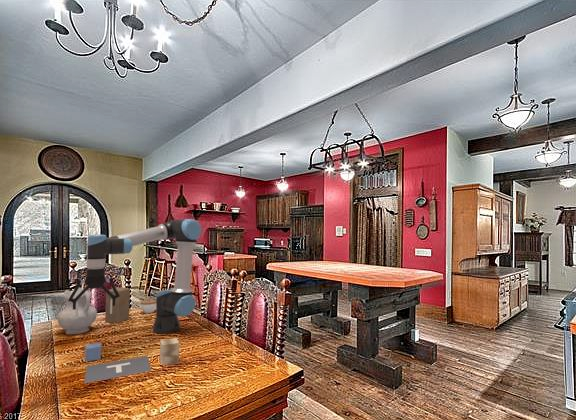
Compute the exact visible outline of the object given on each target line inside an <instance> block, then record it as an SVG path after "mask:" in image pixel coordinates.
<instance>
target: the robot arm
mask: <svg viewBox="0 0 576 420" xmlns="http://www.w3.org/2000/svg"><path fill="white" fill-rule="evenodd" d="M201 235H202V226H201V224H200V223H199V222H198V220H195V219H192V218H191V219H190V218H184V219H182V218H181V219H180V218H179V219H178V218H177V219H174V220H170V221H168V222H164V223H160V224H159V225H157V226H153V227H148V228H145V229H141V230H136V231H131V232H125V233H124V234H123V233H122V234H119V235H115V236H109V237H107V235H106V234H89V235H88V236H87V243H86V271H85V273H86V274H85V279H81V278H80V279H77V282H76V283H77V284H76V286H75V288H74V289H73V290H74V291H73V290H72V291H73V293H72V294H71V296H70V298H69V299H68V301H71V302H73V310H75V309H76V314H75V317H78V301H77V300H78V299H79V298H80V297H81V296H82V295H83V294H84V293H85V292H86V291H87V290H88V291H89V290H93V289H94V290H95V289H97V290H98V289H100V288H101V289H102V290H104V292H105V294H106V293H107V294H108V295H109V296H110V297H111V301H110V314H112V306H115V299H116V298H118V297H119V296H120V295H119V293H118V291H117V289H116V288H117V287H116V285H115V284H114V282H113V277H111V276H110V277H109V278H108V277H107V278H106V258H107V257H106V255H107V256H108V255H122V254H123V255H125V254H131V252H132V251H133V247H135V246H139V245H142V244H147V243H150V242H151V243H152V242H155V241H158V240H162V241H165V240H172V239H175V243H176V244H177V254H176V263H175V275H174V286H173V288H171V289H170V288H169V289H162V290H158V291H157V292H156V298H155V300H156V309H155V320H154V322H153V325H152V332H153V333H156V334H170V333H174V332H177V331H179V330H181V322H180V320H179V317H187V316H189V315H190V314H191V313H192V312H194V309H195V307H196V299H195V297H194V296H193V290H192V288H191V278H192V268H193V257H194V256H193V255H194V247H195V245H196V244H197V241H198V240H197V239H199V237H200V236H201ZM106 282H107V283H108V284H109V285H110V287H111V289H113V291H114V292H115V294H116V295H113V294H112V293H111V292H110V291H109V290H110V289H109V288H108V287H106V285H105V283H106ZM83 283H84V284H85V285H86V286H85V287H84V288H83V290H82V291H81V292H80V293H79V295H78V296H77V297H76V298H75V299H73V297H74V295H75V293H76V292H77V290H78V288H79V287H80V286H82V285H83ZM80 288H81V287H80Z"/></svg>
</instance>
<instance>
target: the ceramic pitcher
mask: <svg viewBox="0 0 576 420" xmlns="http://www.w3.org/2000/svg"><path fill="white" fill-rule="evenodd" d="M83 289H84V288H82V287H79V288H78V290H77V292H76V293H75V295H74V297H73V299H75V298H76V297H77V296H78V295H79V293H80V292H81V291H82V290H83ZM73 291H74V289H73V290H72V291H70V290H69V289H68V290H67V289H65V291H64V292H63V298H64V300H65V302H66V303H65V307H64V308H63V309H62V310H60V312H59V313H58V314H57V317H56V318H57V323H58V325H59V327H60V328H61V329H63V330H65V335H79V334H83V333H88V331H90V330H91V329H90V328H89V327H90V326H92V325H93V324H94V322H95V321H96V319H97V315H98V311H97V310H98V309H96V308H95V307H94V306H92V305H91V299H92V298H91V297H92V292H91V291H90V290H89V289H88V290H87V291H86V292H85V293H84V294H83V295H82V296H81V297H80V298H79V299H78V300H77V301H78V317H75V314H76V309H75V310H73V302H71V301H68V299H69V298H70V296H71V294H72V293H73Z"/></svg>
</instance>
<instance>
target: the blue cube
mask: <svg viewBox="0 0 576 420" xmlns="http://www.w3.org/2000/svg"><path fill="white" fill-rule="evenodd" d="M101 356H102V342H95V343H91V344H90V343H89V344H86V345H85V349H84V362H91V361H97V360H101V358H102V357H101Z"/></svg>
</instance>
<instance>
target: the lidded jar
mask: <svg viewBox="0 0 576 420" xmlns="http://www.w3.org/2000/svg"><path fill="white" fill-rule="evenodd" d="M140 310H141V311H142V312H143V314H153V313H154V312H155V311H156V299H151V298H148V299H145V300H142V301H140Z"/></svg>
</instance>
